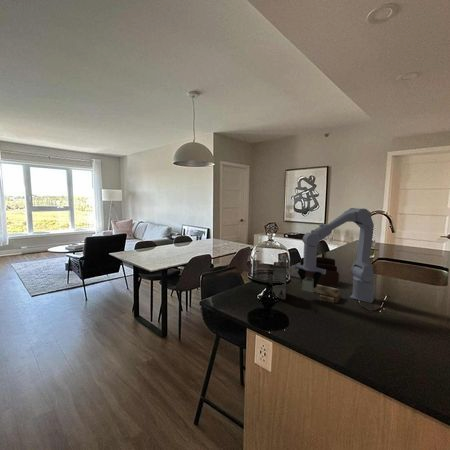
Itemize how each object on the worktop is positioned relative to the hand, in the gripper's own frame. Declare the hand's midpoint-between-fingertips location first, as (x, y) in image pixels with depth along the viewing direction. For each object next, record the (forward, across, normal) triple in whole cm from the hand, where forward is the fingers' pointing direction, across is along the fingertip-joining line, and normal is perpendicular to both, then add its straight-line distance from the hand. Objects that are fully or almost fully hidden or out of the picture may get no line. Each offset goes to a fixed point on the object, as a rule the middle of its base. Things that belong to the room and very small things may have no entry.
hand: (309, 286), depth 121 cm
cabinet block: (+2, 0, 0) cm, 2 cm away
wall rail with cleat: (+7, +4, +7) cm, 11 cm away
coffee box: (+7, -13, -5) cm, 16 cm away
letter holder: (+7, -5, +28) cm, 30 cm away
